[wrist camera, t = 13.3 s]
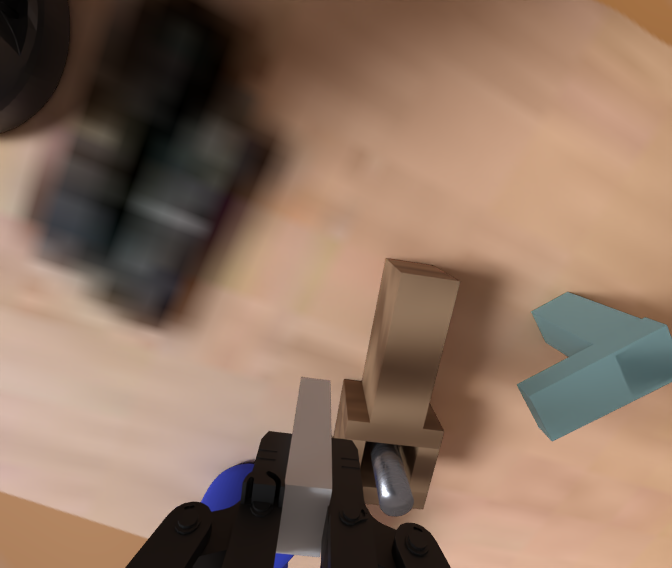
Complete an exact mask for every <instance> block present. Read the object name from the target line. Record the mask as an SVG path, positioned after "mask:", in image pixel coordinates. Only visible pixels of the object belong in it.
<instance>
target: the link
mask: <svg viewBox="0 0 672 568" xmlns="http://www.w3.org/2000/svg"><path fill="white" fill-rule="evenodd" d="M459 284H460V281H459V280H457V279H455V278H454V277H452V276H450V275H448V274H447V273H445V272H443V271H442V270H440V269H438V268H436V267H435V266H433V265H427V264H421V263H414V262H407V261H401V260H394V259H387V258H386V259H385V265H384V270H383V275H382V280H381V285H380V290H379V295H378V301H377V306H376V311H375V316H374V321H373V326H372V332H371V337H370V342H369V347H368V352H367V357H366V363H365V368H364V373H363V378H362V381H354V380H346V379H344V381H343V387H342V392H341V398H340V404H339V409H338V415H337V420H336V426H335V431H334V437H333V438H339V439H347V440H352V441H353V442H354V444H355V446H356V447H357V449H358V454H359V462H360V470H361V478H362V486H363V494H364V502H365V504H375V505H379V499H378V493H377V488H376V482H375V476H374V471H373V465H372V460H371V454H370V448H369V443H368V441H369V442H378V443H387V444H396V445H398V448H399V451H400V455H401V458H402V461H403V465H404V468H405V472H406V475H407V478H408V482H409V485H410V488H411V492H412V495H413V499H414V504H413V507H412V508H416V509H423V508H424V504H425V501H426V497H427V493H428V490H429V486H430V482H431V479H432V475H433V471H434V468H435V464H436V460H437V457H438V453H439V449H440V445H441V442H442V438H443V434H444V430H443V428H442V426H441V424H440V422H439V420H438V418H437V416H436V414H435V412H434V411H433V409H432V407H431V405H430V399H431V395H432V391H433V387H434V383H435V379H436V375H437V371H438V367H439V363H440V359H441V355H442V351H443V347H444V344H445V340H446V336H447V332H448V328H449V324H450V320H451V316H452V312H453V308H454V304H455V300H456V296H457V292H458V288H459Z"/></svg>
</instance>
